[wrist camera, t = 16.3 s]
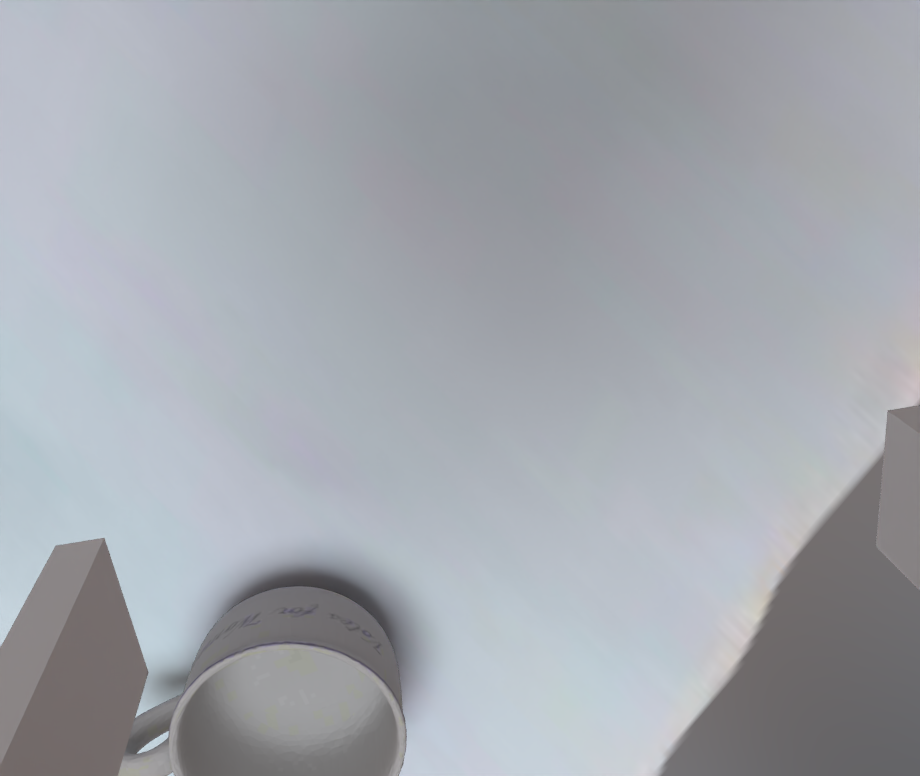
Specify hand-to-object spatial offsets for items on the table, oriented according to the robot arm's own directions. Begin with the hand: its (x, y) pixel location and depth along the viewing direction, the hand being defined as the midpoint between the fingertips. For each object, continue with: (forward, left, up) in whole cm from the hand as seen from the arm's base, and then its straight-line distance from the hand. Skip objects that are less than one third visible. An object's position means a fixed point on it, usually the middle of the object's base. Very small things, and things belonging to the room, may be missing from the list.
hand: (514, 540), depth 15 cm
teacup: (+22, -1, -29) cm, 36 cm away
